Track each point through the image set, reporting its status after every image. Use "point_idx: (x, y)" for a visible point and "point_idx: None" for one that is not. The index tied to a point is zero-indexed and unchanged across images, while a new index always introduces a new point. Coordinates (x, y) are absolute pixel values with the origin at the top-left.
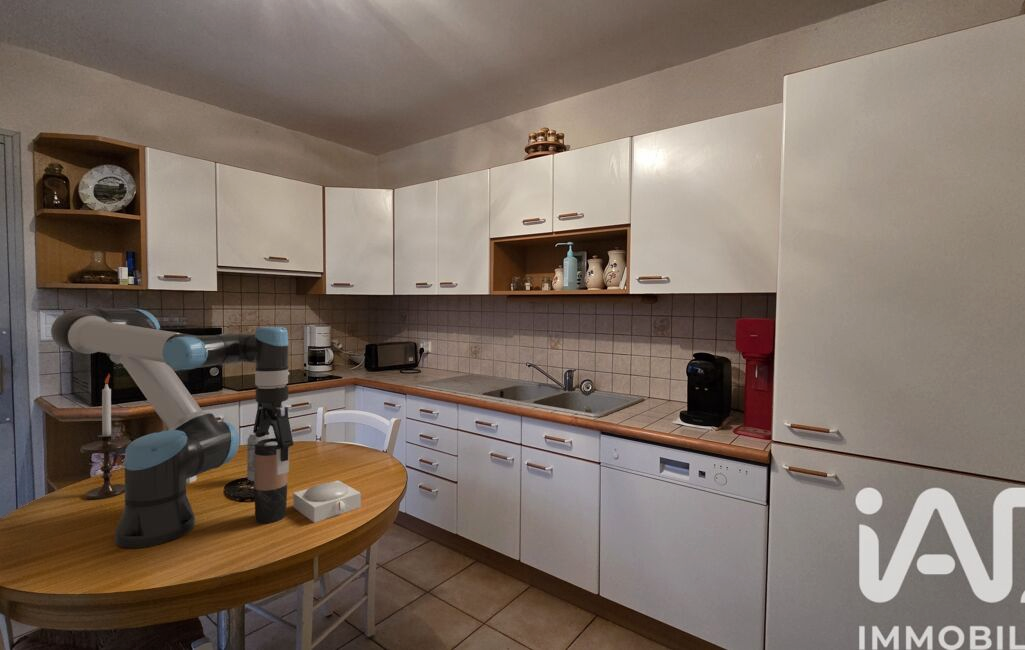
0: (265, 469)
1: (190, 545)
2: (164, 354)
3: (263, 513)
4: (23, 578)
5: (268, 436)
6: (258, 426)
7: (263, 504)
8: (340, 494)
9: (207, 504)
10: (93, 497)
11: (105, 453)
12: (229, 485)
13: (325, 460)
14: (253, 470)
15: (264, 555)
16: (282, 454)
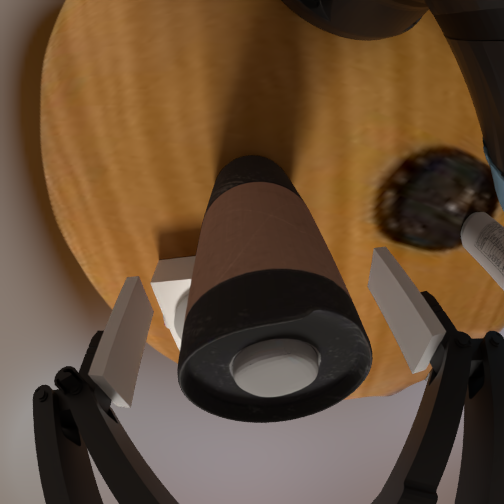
0: (200, 254)
1: (209, 9)
2: None
3: (220, 175)
4: None
5: (412, 372)
6: (461, 403)
7: (218, 184)
8: (180, 338)
9: (436, 101)
10: None
11: None
12: (488, 175)
13: None
14: (484, 230)
15: (65, 150)
16: (84, 359)
